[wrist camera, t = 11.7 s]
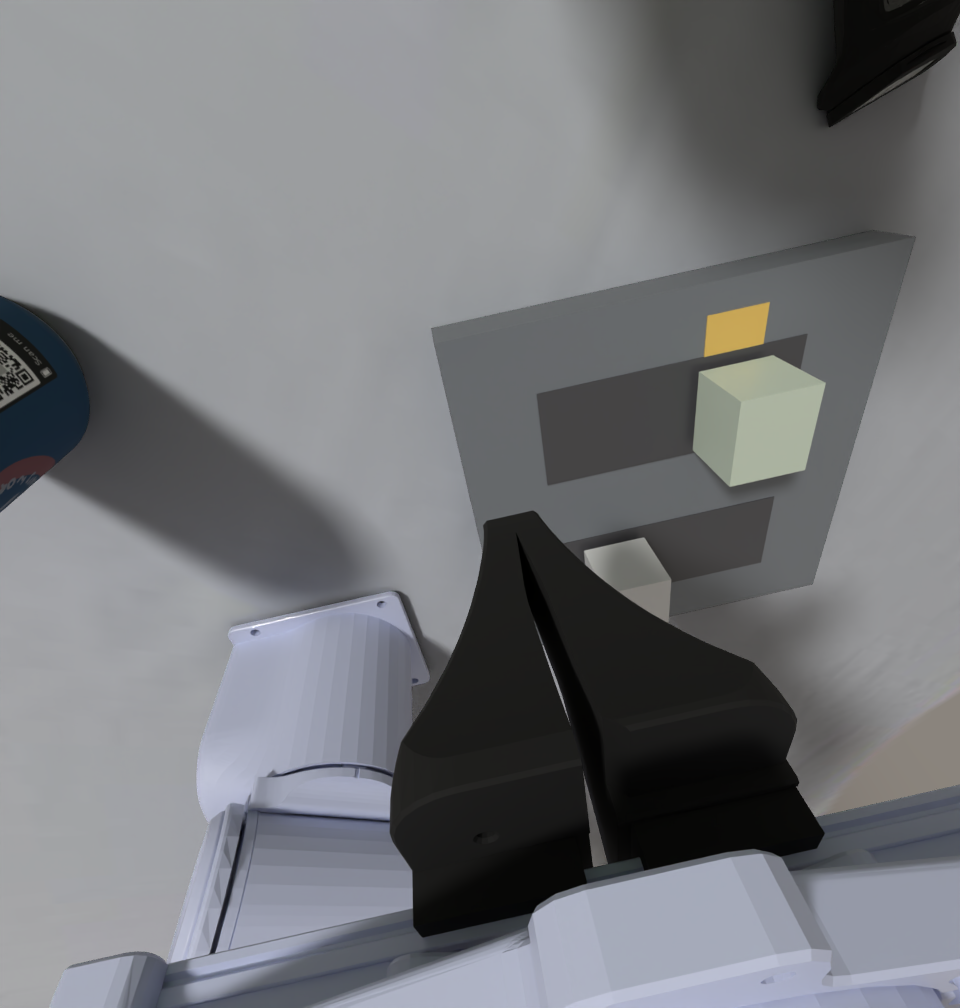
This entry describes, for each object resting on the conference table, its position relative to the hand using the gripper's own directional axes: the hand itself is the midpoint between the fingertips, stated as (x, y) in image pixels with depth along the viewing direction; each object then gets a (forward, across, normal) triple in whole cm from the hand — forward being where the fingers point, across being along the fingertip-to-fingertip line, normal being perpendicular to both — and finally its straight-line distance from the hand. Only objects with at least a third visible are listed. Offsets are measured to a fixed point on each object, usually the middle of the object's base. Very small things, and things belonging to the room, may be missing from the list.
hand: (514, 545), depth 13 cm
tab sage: (+8, -10, +2) cm, 13 cm away
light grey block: (+8, -5, +10) cm, 14 cm away
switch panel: (+10, -8, +6) cm, 14 cm away
